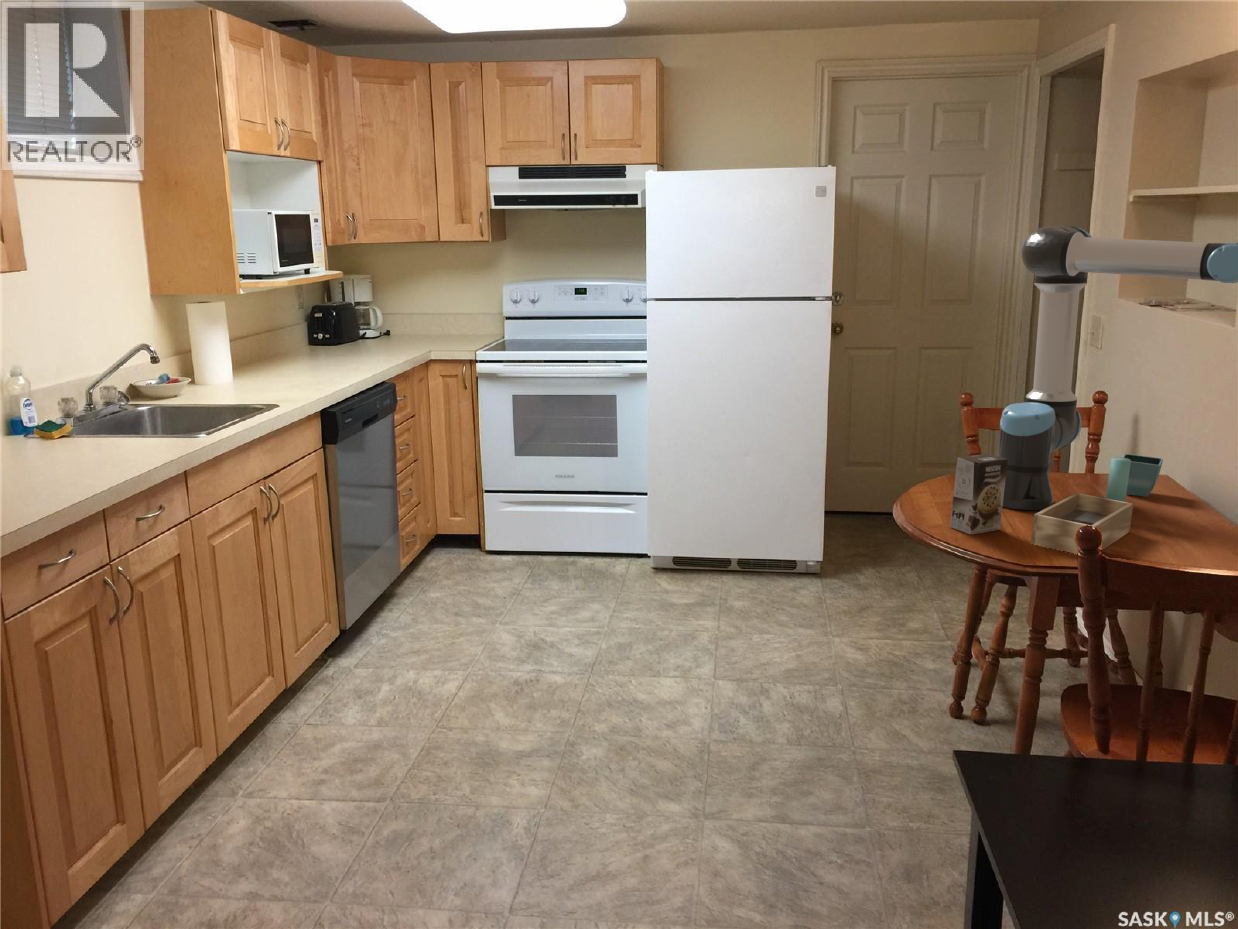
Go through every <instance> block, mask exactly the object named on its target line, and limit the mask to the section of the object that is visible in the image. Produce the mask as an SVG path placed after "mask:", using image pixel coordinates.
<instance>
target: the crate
mask: <svg viewBox="0 0 1238 929" xmlns="http://www.w3.org/2000/svg"><path fill="white" fill-rule="evenodd" d="M1133 508H1134V503H1132V502H1127V501H1125V502H1122V501H1117V500H1112V499H1106V497H1101V496H1095V495H1091V494H1090V495H1089V494H1084V493H1079V492H1076V493H1073V494H1071V495H1069V496H1068V497H1066V498H1063V499H1062V500H1060V501H1058V502H1056V503H1053V504H1052V506H1050V507H1048V508H1046V509H1042V510H1039V512H1036V513H1034V514H1033V521H1032V530H1031V536H1030V537H1031V538H1030V545H1032V544H1033V545H1032V546H1036V545H1038V547H1041V546H1042V547H1041V548H1045V547H1046V548H1045V549H1049V548H1054V549H1059V550H1063V551H1070V552H1071V553H1074V554H1073V555H1075V554H1076V556H1078V555H1077V547H1076V544H1075V541H1074V535H1075V533H1076V531H1077V530H1078V528H1079V527H1082V526H1086V525H1088V526H1092V527H1096V528H1098V529H1099V530H1100V531H1101V533H1102V539H1103V541H1102V547H1101V548H1104V549H1106V548H1107V547H1109V546H1111V545H1112V544H1113V543H1115V542H1117V541H1118V540H1119V539H1121V538H1123V537H1124V536H1126V535H1127V534H1128V533H1130V529H1131V522H1132V516H1133V510H1134V509H1133ZM1105 547H1106V548H1105ZM1054 549H1053V550H1054ZM1071 553H1070V554H1071Z"/></svg>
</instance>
